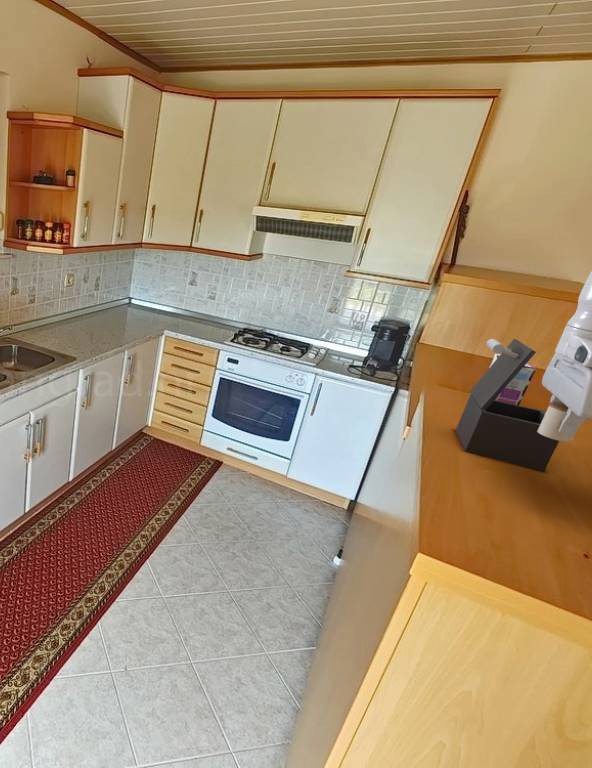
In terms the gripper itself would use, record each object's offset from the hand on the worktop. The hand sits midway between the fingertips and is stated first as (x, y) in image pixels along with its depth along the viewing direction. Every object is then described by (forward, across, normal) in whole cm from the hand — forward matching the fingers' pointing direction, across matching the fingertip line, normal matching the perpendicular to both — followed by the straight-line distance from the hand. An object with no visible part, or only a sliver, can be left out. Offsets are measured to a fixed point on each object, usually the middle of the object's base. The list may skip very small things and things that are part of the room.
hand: (558, 427), depth 82 cm
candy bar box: (+13, -34, -1) cm, 36 cm away
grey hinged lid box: (+12, -18, -2) cm, 22 cm away
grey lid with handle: (-4, -18, -5) cm, 19 cm away
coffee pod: (+2, 0, 0) cm, 2 cm away
